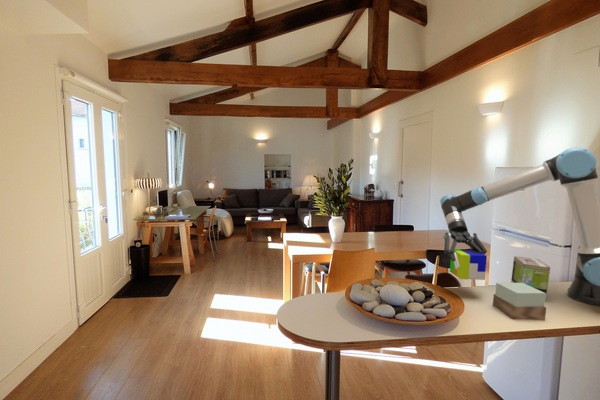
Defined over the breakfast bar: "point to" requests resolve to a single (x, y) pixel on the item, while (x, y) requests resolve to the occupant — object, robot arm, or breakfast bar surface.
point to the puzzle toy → (469, 265)
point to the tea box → (531, 273)
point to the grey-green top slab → (520, 294)
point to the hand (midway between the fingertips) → (471, 268)
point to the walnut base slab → (519, 310)
